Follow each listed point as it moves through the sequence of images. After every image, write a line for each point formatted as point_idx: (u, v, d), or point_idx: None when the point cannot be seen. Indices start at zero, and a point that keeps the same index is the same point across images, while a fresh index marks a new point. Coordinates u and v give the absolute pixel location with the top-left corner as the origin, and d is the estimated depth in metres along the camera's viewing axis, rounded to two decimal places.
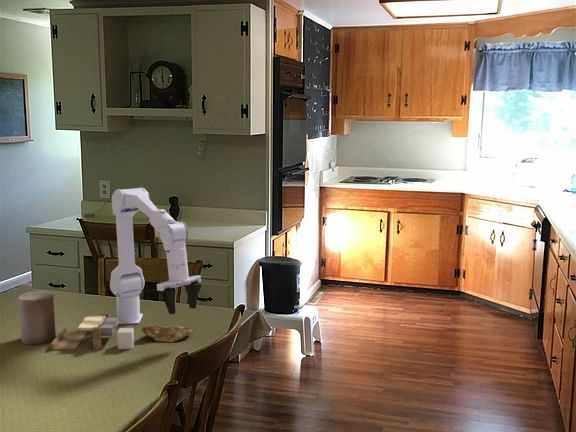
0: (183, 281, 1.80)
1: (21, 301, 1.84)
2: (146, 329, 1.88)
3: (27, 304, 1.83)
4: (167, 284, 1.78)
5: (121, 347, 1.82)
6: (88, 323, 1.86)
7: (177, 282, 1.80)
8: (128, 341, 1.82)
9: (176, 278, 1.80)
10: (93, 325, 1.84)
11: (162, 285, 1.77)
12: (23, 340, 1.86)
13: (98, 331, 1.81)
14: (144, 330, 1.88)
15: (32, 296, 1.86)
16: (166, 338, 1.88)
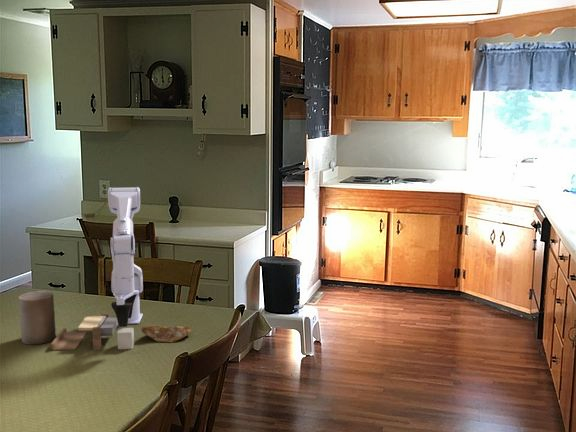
0: (135, 293, 1.81)
1: (21, 301, 1.84)
2: (146, 329, 1.88)
3: (27, 304, 1.83)
4: (126, 297, 1.77)
5: (121, 347, 1.82)
6: (88, 323, 1.86)
7: (131, 294, 1.79)
8: (128, 341, 1.82)
9: (129, 290, 1.79)
10: (93, 325, 1.84)
11: (124, 299, 1.75)
12: (23, 340, 1.86)
13: (98, 331, 1.81)
14: (144, 330, 1.87)
15: (32, 296, 1.86)
16: (166, 338, 1.88)
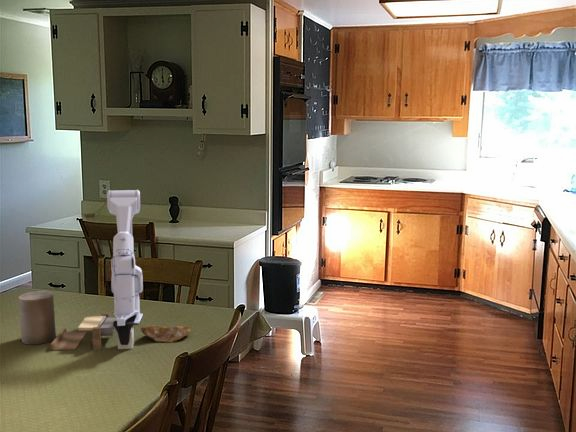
0: (135, 313, 1.82)
1: (21, 301, 1.84)
2: (145, 330, 1.88)
3: (27, 304, 1.83)
4: (126, 318, 1.77)
5: (121, 347, 1.82)
6: (88, 323, 1.86)
7: (131, 314, 1.80)
8: None
9: (130, 310, 1.80)
10: (93, 325, 1.84)
11: (124, 320, 1.76)
12: (23, 340, 1.86)
13: (98, 331, 1.81)
14: (144, 331, 1.87)
15: (32, 296, 1.86)
16: (165, 338, 1.88)
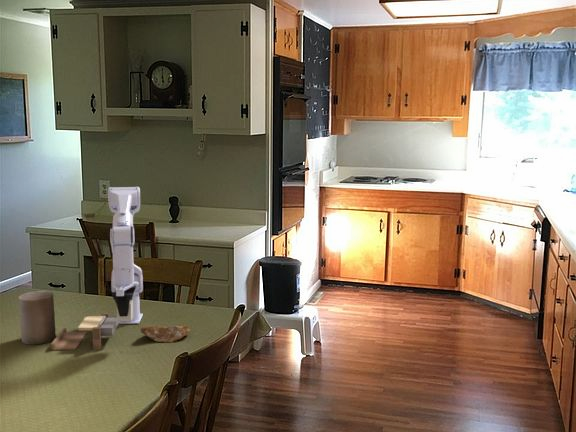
0: (134, 284, 1.80)
1: (21, 301, 1.84)
2: (145, 330, 1.87)
3: (27, 304, 1.83)
4: (125, 289, 1.76)
5: (120, 319, 1.81)
6: (88, 323, 1.86)
7: (130, 286, 1.79)
8: None
9: (129, 282, 1.79)
10: (93, 325, 1.84)
11: (123, 290, 1.75)
12: (23, 340, 1.86)
13: (98, 331, 1.81)
14: (143, 331, 1.87)
15: (32, 296, 1.86)
16: (165, 338, 1.88)
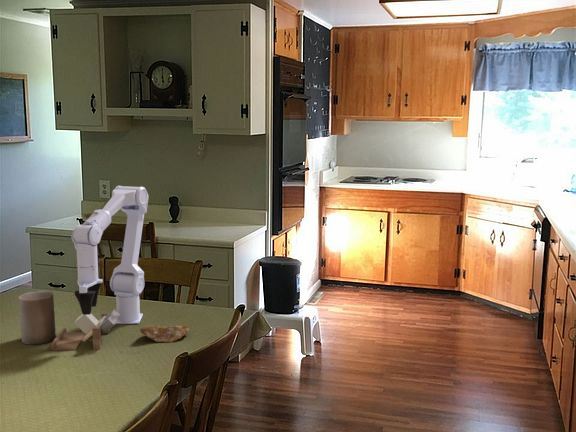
0: (98, 281, 1.85)
1: (21, 301, 1.84)
2: (145, 330, 1.87)
3: (27, 304, 1.83)
4: (89, 286, 1.81)
5: (87, 331, 1.86)
6: None
7: (94, 283, 1.83)
8: (88, 322, 1.86)
9: (92, 279, 1.84)
10: None
11: (86, 287, 1.79)
12: (23, 340, 1.86)
13: (98, 331, 1.81)
14: (143, 331, 1.87)
15: (32, 296, 1.86)
16: (165, 338, 1.88)
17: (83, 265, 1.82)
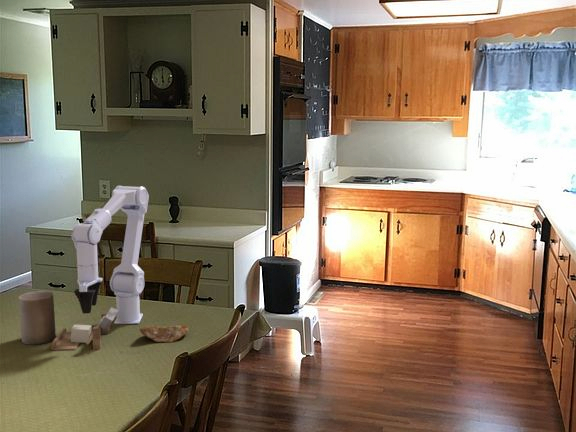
0: (98, 280, 1.85)
1: (21, 301, 1.84)
2: (145, 330, 1.87)
3: (27, 304, 1.83)
4: (88, 284, 1.81)
5: (86, 339, 1.86)
6: None
7: (94, 282, 1.83)
8: (80, 332, 1.86)
9: (92, 278, 1.83)
10: None
11: (86, 286, 1.79)
12: (23, 340, 1.86)
13: (98, 331, 1.81)
14: (143, 332, 1.86)
15: (32, 296, 1.86)
16: (165, 338, 1.88)
17: (83, 264, 1.82)
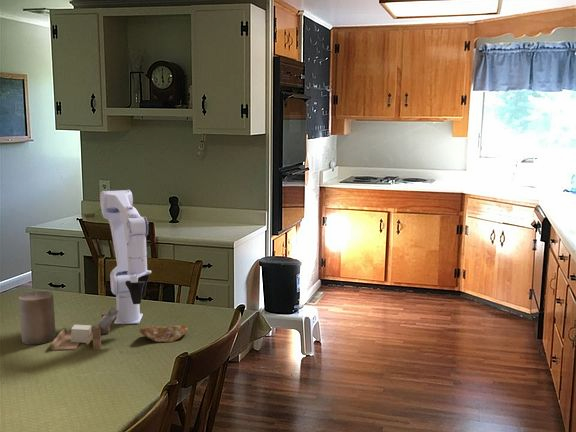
0: (147, 272, 1.92)
1: (21, 301, 1.84)
2: (145, 331, 1.87)
3: (27, 304, 1.83)
4: (139, 276, 1.87)
5: (86, 339, 1.86)
6: None
7: (144, 273, 1.90)
8: (80, 332, 1.86)
9: (142, 270, 1.90)
10: None
11: (137, 277, 1.86)
12: (23, 340, 1.86)
13: (98, 331, 1.81)
14: (143, 332, 1.86)
15: (32, 296, 1.86)
16: (165, 338, 1.88)
17: (141, 255, 1.90)
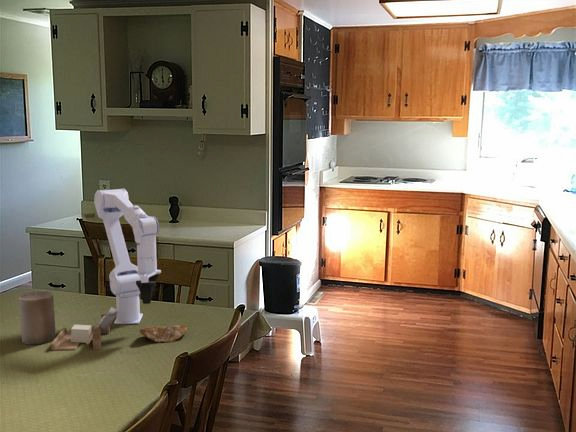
0: (157, 272, 1.92)
1: (21, 301, 1.84)
2: (145, 331, 1.86)
3: (27, 304, 1.83)
4: (149, 276, 1.88)
5: (86, 339, 1.86)
6: None
7: (154, 273, 1.91)
8: (80, 332, 1.86)
9: (152, 269, 1.91)
10: None
11: (148, 277, 1.87)
12: (23, 340, 1.86)
13: (98, 331, 1.81)
14: (143, 332, 1.86)
15: (32, 296, 1.86)
16: (165, 338, 1.88)
17: (152, 255, 1.91)
